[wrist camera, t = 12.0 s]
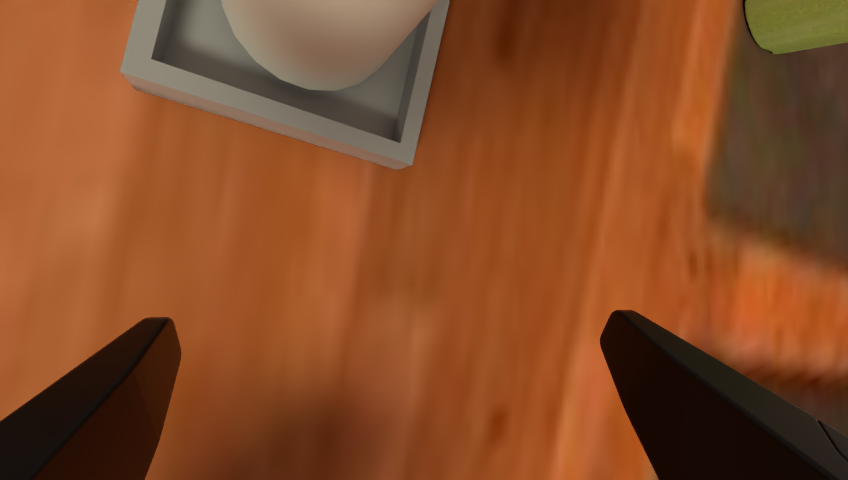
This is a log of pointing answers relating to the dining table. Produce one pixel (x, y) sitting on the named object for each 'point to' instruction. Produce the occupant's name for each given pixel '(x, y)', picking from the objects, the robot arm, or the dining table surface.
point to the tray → (283, 82)
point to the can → (323, 36)
